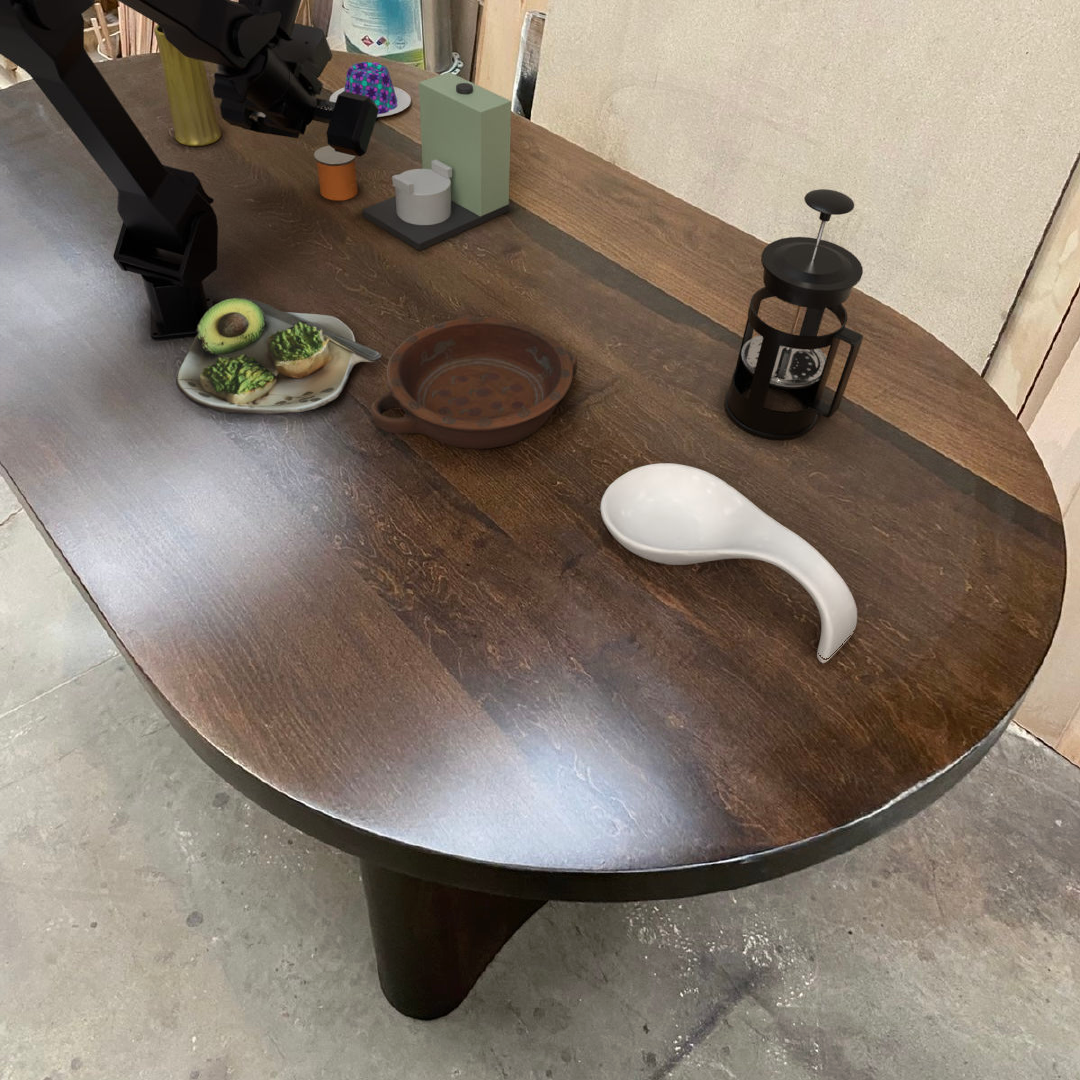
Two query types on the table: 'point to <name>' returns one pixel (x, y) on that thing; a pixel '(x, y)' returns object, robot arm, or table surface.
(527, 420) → the dish
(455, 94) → the coffee maker
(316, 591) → the table surface
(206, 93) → the vase
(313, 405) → the avocado toast plate
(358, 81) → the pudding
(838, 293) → the french press
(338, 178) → the coffee pod
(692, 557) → the spoon rest
